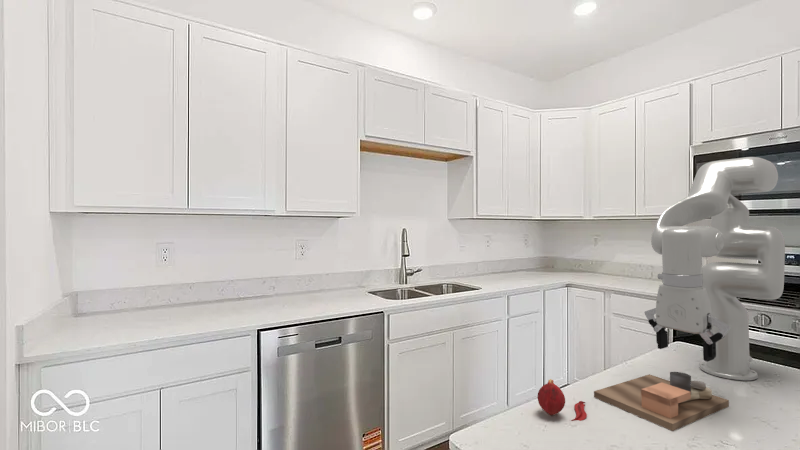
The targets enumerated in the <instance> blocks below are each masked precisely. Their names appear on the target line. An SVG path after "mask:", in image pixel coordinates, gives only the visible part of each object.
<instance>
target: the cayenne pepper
mask: <svg viewBox="0 0 800 450" xmlns="http://www.w3.org/2000/svg"><path fill="white" fill-rule="evenodd" d="M585 406H586V402H585V401H583V400H580V401H578V402H576V403H575V404H574V411H575V414H576V416H575V418H573V419H571V420H570V422H575V421H576V422H577V421H579V422H583V421H585V420H586V419H587V417H588V414H587V411H585Z"/></svg>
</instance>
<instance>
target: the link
mask: <svg viewBox="0 0 800 450" xmlns="http://www.w3.org/2000/svg"><path fill="white" fill-rule="evenodd" d="M669 381H670V385H672V386H675V387H678V388H681V389H684V390H687V391H690V392H691V399H689V400H686V401H690V400H694V399H699V398H700V399H711V398H712V395H713V390H712V389H711V388H709V387H708V386H706V389H696V388H693V387H692V386H691V381H692V376H691V375H690V374H688V373H685V372H681V371H670V372H669ZM683 402H685V401H683Z"/></svg>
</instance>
